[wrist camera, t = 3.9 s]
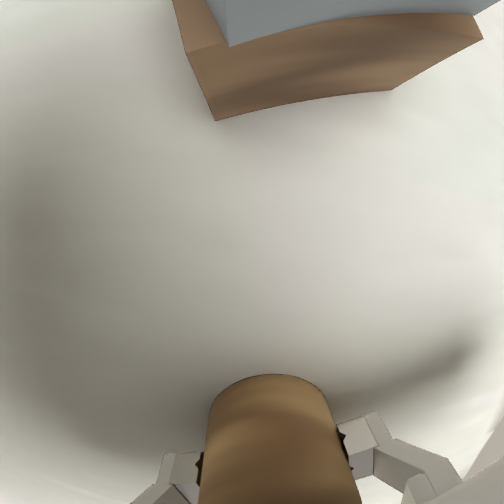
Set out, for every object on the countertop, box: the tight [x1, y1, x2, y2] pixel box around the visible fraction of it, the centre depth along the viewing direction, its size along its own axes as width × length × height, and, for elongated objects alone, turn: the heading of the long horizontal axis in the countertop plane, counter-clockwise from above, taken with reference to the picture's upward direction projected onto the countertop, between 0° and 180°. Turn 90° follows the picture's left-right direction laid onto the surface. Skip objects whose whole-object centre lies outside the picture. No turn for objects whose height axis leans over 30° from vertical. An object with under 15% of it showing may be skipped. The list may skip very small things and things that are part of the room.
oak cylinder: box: [198, 374, 362, 504], centre depth 8 cm, size 5×5×5 cm
